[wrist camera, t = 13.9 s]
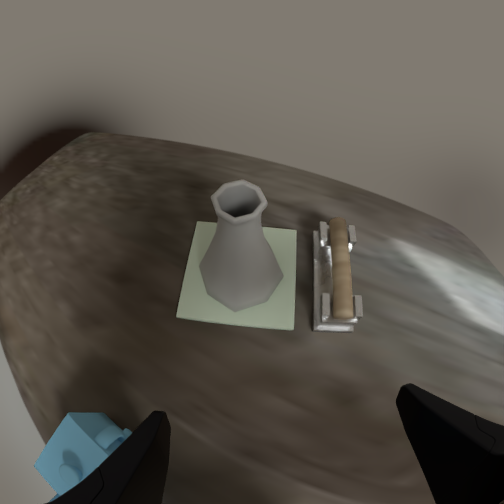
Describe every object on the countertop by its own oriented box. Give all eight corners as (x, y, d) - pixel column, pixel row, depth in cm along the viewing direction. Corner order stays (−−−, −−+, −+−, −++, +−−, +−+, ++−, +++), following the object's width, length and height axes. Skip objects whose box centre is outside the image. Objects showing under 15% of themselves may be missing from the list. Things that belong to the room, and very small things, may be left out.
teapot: (109, 518, 12) (69, 543, 5) (62, 475, 13) (14, 485, 7) (171, 446, 17) (139, 465, 11) (117, 400, 19) (68, 397, 12)
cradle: (351, 332, 22) (364, 323, 20) (312, 331, 22) (321, 322, 20) (345, 237, 27) (354, 220, 25) (312, 234, 27) (318, 216, 25)
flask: (186, 265, 25) (158, 192, 16) (248, 226, 27) (249, 146, 18) (232, 327, 22) (223, 277, 13) (297, 279, 24) (324, 208, 16)
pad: (292, 330, 22) (293, 329, 22) (177, 317, 23) (176, 316, 22) (295, 232, 27) (296, 230, 27) (197, 223, 28) (197, 221, 27)
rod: (349, 320, 21) (356, 314, 19) (330, 319, 21) (336, 313, 19) (343, 228, 25) (347, 218, 24) (327, 226, 25) (331, 216, 24)
